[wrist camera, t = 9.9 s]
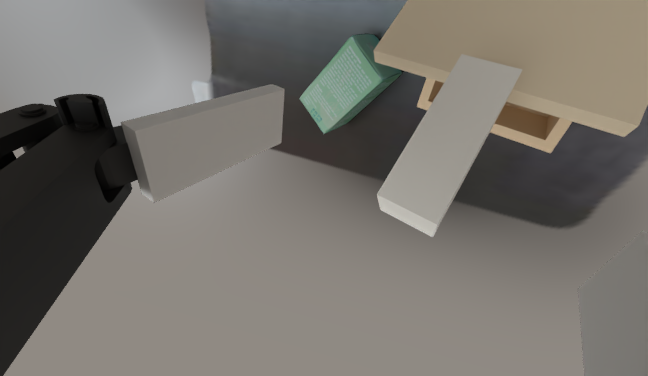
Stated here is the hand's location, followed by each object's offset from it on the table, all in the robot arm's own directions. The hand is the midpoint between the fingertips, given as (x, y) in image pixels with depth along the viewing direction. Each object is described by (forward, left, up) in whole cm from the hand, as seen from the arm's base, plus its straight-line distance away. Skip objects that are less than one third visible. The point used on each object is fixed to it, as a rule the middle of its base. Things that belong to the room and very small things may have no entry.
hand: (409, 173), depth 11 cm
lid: (-4, 0, -13) cm, 14 cm away
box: (+7, -19, -34) cm, 40 cm away
